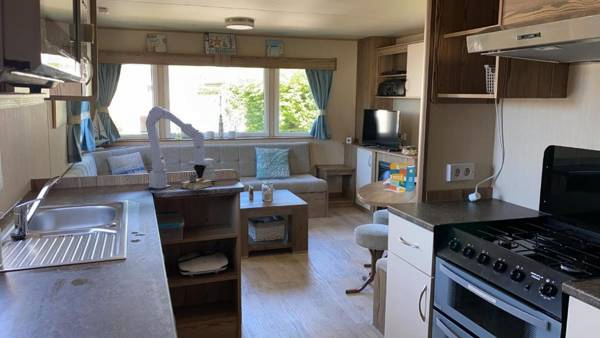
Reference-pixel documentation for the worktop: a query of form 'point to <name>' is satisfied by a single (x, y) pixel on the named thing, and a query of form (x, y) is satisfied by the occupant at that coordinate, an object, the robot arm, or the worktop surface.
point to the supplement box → (209, 170)
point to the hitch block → (196, 184)
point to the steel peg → (192, 178)
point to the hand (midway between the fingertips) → (200, 178)
